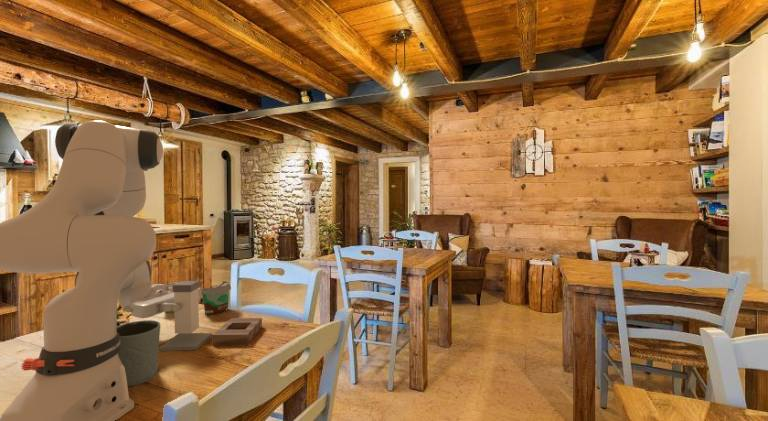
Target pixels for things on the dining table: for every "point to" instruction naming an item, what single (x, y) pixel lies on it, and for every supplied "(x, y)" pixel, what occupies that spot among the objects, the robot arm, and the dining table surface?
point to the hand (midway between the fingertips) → (189, 303)
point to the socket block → (237, 331)
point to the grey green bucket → (139, 350)
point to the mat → (186, 341)
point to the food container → (216, 298)
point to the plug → (186, 306)
